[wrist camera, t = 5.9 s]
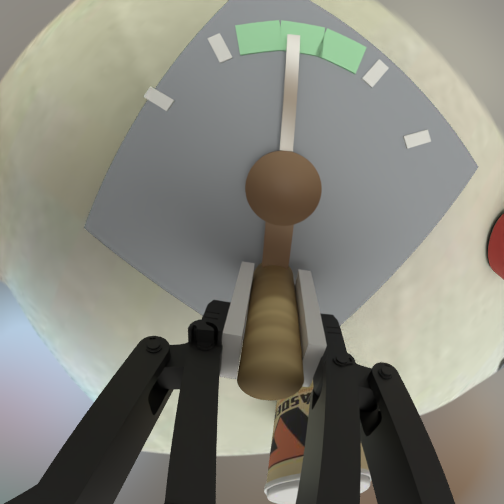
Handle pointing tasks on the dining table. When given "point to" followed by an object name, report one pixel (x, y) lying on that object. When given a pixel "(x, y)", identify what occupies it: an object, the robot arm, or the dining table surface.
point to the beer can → (497, 247)
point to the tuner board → (268, 140)
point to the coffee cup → (294, 449)
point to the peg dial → (277, 256)
